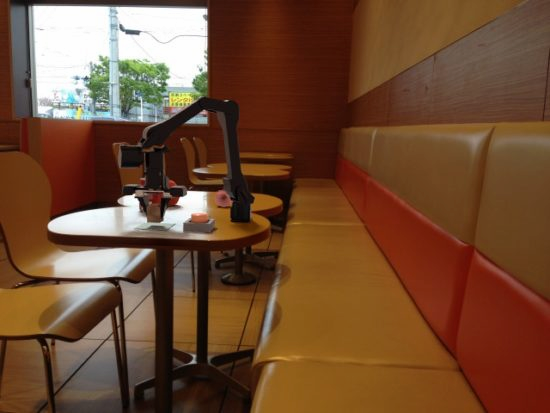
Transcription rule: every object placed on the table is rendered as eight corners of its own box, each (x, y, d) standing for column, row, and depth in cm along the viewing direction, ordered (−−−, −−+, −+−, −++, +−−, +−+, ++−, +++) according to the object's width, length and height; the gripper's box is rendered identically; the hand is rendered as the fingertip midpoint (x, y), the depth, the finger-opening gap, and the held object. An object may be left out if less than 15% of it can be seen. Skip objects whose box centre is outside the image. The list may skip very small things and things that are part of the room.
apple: (176, 208, 175) (176, 181, 173) (150, 207, 175) (149, 180, 173) (182, 203, 185) (182, 178, 183) (157, 203, 185) (157, 177, 183)
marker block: (163, 220, 142) (163, 202, 141) (159, 223, 138) (159, 204, 137) (151, 220, 142) (150, 202, 141) (147, 222, 138) (146, 204, 137)
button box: (214, 226, 142) (214, 218, 142) (209, 232, 134) (209, 223, 134) (189, 225, 143) (189, 218, 142) (183, 231, 135) (183, 222, 134)
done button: (209, 222, 141) (209, 213, 140) (205, 226, 136) (205, 216, 135) (193, 222, 141) (193, 212, 140) (189, 225, 136) (189, 215, 136)
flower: (216, 190, 186) (218, 184, 181) (233, 198, 187) (237, 192, 182) (208, 205, 182) (211, 199, 177) (227, 213, 183) (230, 208, 178)
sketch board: (175, 224, 144) (175, 223, 144) (167, 230, 136) (167, 229, 136) (144, 223, 145) (144, 222, 145) (134, 228, 136) (134, 228, 136)
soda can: (153, 212, 163) (152, 179, 162) (135, 211, 165) (135, 178, 163) (161, 209, 170) (160, 178, 168) (144, 208, 171) (144, 177, 169)
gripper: (191, 166, 145) (191, 214, 147) (133, 165, 146) (135, 212, 148) (182, 169, 134) (182, 221, 136) (120, 167, 135) (121, 219, 137)
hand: (155, 218), depth 140 cm, fingers closed on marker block, 4 cm apart
